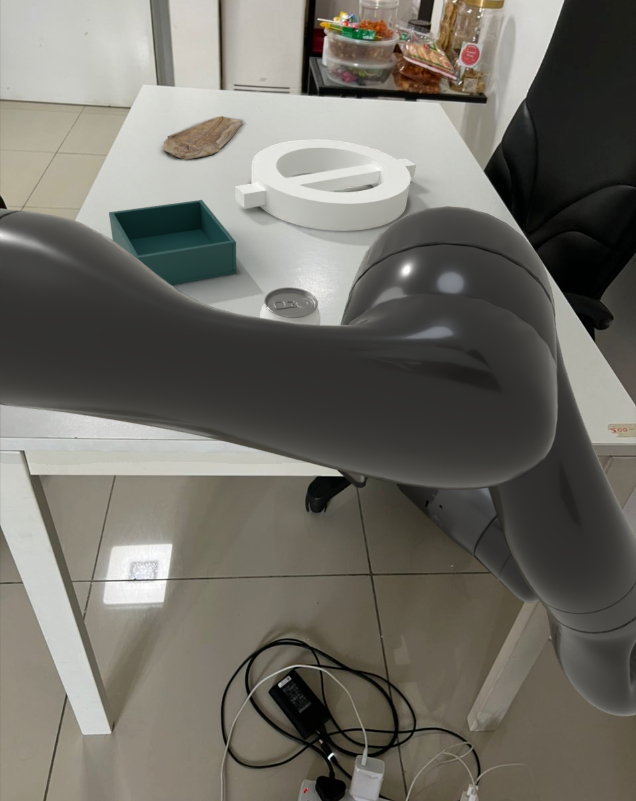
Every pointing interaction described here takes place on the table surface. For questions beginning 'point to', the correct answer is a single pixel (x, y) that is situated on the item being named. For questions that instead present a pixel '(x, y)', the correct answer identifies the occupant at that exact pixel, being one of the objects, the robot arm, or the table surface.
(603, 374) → the table surface
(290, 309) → the can
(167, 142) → the fish fossil
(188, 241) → the teal open storage bin
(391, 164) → the ring with crossbar
